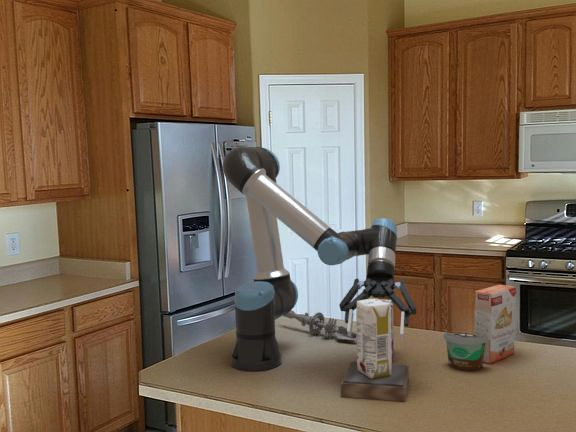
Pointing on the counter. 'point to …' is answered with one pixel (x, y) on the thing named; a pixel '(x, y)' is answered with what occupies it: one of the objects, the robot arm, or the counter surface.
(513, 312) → the cracker box
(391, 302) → the candy bar box
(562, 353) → the counter surface
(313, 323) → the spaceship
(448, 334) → the food container
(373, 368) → the juice carton
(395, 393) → the grey brown square slab
